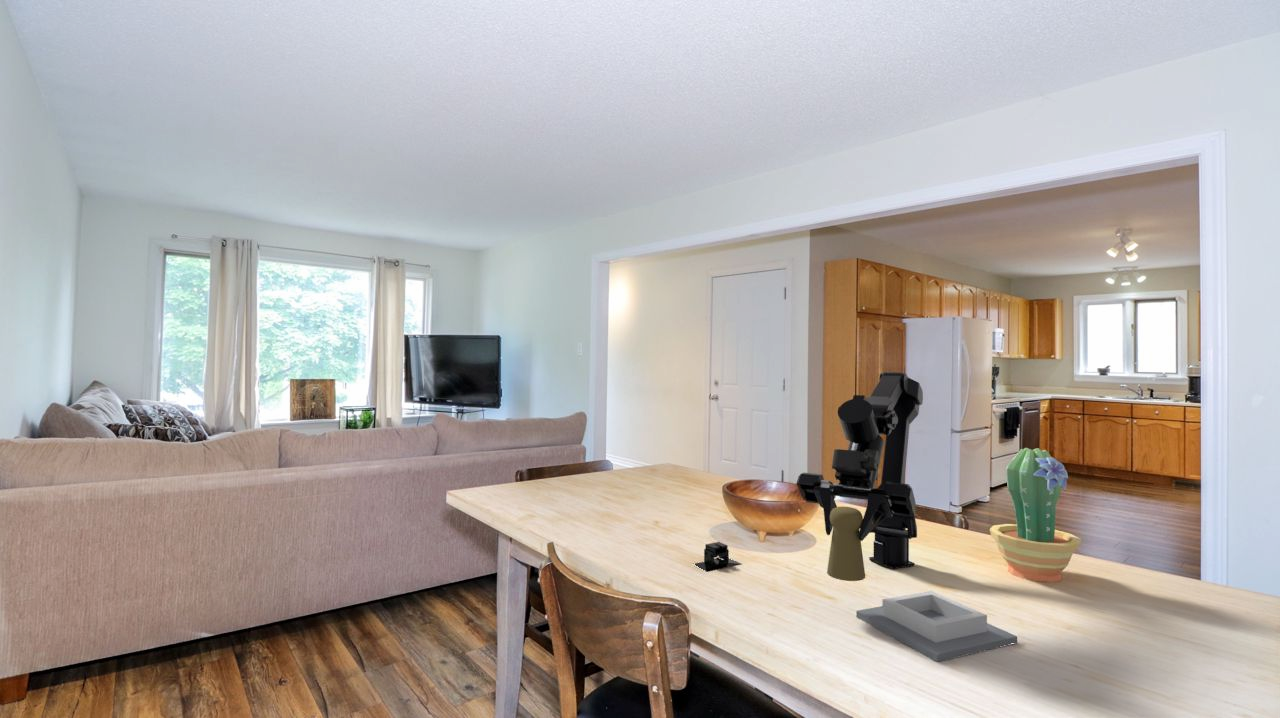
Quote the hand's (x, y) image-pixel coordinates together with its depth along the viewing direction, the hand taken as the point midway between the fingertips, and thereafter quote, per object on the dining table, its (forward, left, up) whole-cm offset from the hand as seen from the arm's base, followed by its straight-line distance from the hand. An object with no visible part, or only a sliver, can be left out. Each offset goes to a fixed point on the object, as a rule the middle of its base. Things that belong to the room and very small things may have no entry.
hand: (843, 536), depth 98 cm
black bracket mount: (+7, -31, -14) cm, 34 cm away
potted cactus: (-50, -4, -13) cm, 52 cm away
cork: (-1, -1, -7) cm, 7 cm away
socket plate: (-10, +8, -13) cm, 19 cm away
